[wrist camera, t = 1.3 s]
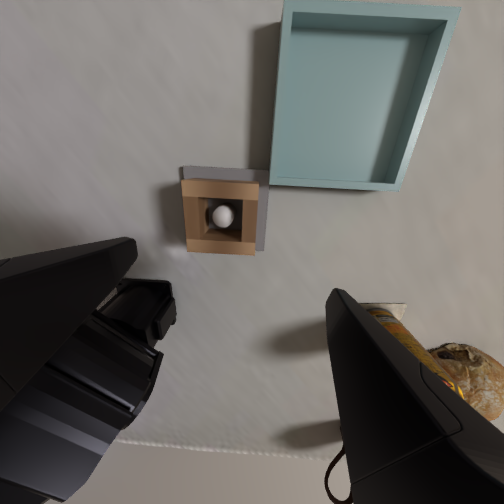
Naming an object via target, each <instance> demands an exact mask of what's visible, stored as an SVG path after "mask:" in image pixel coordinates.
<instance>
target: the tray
mask: <svg viewBox="0 0 504 504" xmlns="http://www.w3.org/2000/svg"><path fill="white" fill-rule="evenodd" d="M461 8H462V7H450V6H431V5H413V4H394V3H375V2H357V1H338V0H284V4H283V10H282V17H281V25H280V38H279V50H278V63H277V76H276V88H275V101H274V113H273V126H272V139H271V151H270V164H269V181H268V183H269V184H270V185H288V186H306V187H324V188H342V189H360V190H378V191H395V192H399V190H400V187H401V185H402V182H403V179H404V176H405V173H406V170H407V167H408V164H409V161H410V158H411V155H412V152H413V149H414V146H415V143H416V140H417V137H418V135H419V132H420V129H421V126H422V123H423V120H424V117H425V114H426V111H427V108H428V105H429V102H430V99H431V96H432V93H433V90H434V87H435V85H436V82H437V79H438V76H439V73H440V70H441V67H442V64H443V61H444V58H445V55H446V52H447V49H448V46H449V43H450V40H451V37H452V35H453V32H454V29H455V26H456V23H457V20H458V17H459V14H460V11H461Z"/></svg>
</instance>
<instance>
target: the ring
mask: <svg viewBox="0 0 504 504" xmlns="http://www.w3.org/2000/svg"><path fill="white" fill-rule="evenodd" d="M181 186H182V197H183V208H184V219H185V231H186V242H187V252H201V253H218V254H236V255H253V256H255V242H256V226H257V210H258V194H259V182H258V181H240V180H222V179H205V178H191V179H184V180H181ZM208 198H224V199H242V200H243V214H242V230H230V229H213V228H209V208H208Z"/></svg>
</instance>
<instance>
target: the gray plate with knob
mask: <svg viewBox="0 0 504 504" xmlns="http://www.w3.org/2000/svg"><path fill="white" fill-rule="evenodd" d="M183 173H184V179H191V178H205V179H222V180H240V181H258V182H259V194H258V210H257V226H256V242H255V251H264V243H265V231H266V218H267V206H268V194H269V183H268V181H269V170H253V169H235V168H217V167H200V166H183ZM208 208H209V228H213V229H230V230H242V214H243V200H242V199H224V198H208Z"/></svg>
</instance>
